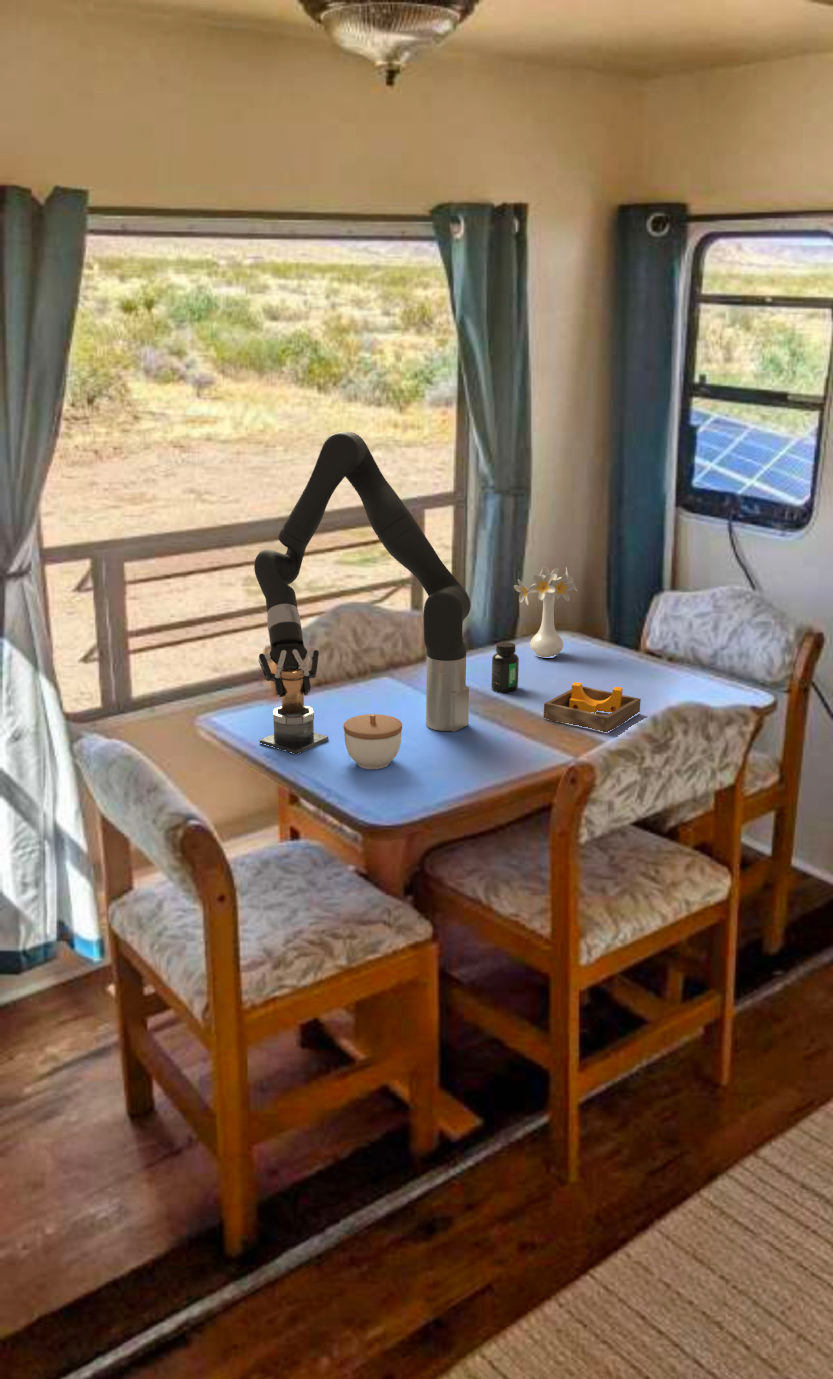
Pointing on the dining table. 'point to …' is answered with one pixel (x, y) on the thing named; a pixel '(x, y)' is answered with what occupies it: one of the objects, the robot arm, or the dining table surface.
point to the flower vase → (547, 608)
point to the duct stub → (294, 731)
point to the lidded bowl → (372, 739)
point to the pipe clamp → (587, 704)
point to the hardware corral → (562, 713)
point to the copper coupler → (292, 690)
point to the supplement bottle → (505, 668)
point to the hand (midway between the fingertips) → (293, 694)
